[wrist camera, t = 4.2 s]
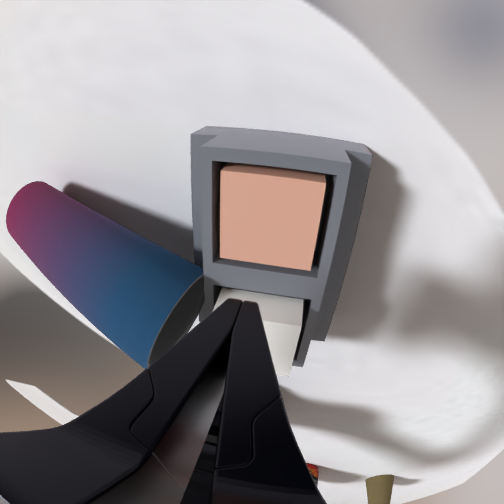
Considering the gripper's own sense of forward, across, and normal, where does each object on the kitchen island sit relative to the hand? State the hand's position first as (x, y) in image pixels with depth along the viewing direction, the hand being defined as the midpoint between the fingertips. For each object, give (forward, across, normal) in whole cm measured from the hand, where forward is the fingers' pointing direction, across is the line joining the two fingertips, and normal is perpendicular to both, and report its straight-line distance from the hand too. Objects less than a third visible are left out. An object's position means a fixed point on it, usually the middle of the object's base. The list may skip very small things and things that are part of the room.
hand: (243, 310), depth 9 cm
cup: (+8, +18, +2) cm, 20 cm away
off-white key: (+6, 0, +7) cm, 9 cm away
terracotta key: (+8, 0, 0) cm, 8 cm away
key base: (+11, 0, +3) cm, 11 cm away
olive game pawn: (+11, -28, +55) cm, 63 cm away
